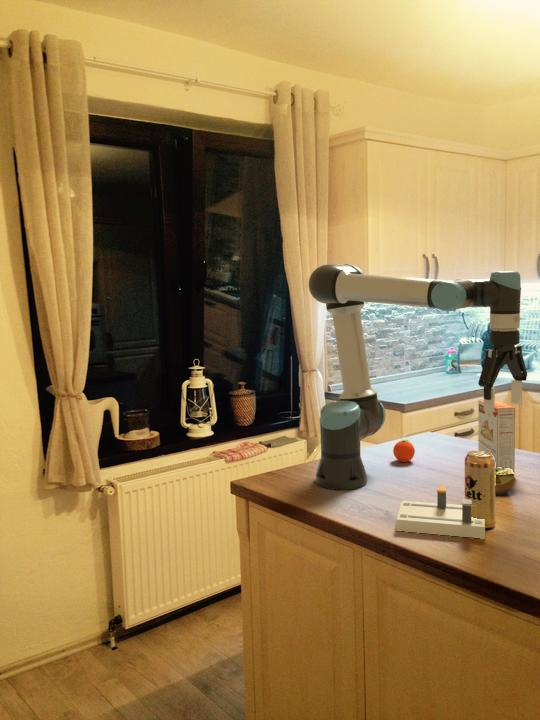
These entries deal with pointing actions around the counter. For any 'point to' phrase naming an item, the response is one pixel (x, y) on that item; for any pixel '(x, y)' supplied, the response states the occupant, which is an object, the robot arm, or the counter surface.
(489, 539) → the counter surface
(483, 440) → the cracker box
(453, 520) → the white flat slotted block
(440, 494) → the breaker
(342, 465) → the robot arm
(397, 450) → the clementine
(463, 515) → the on breaker
